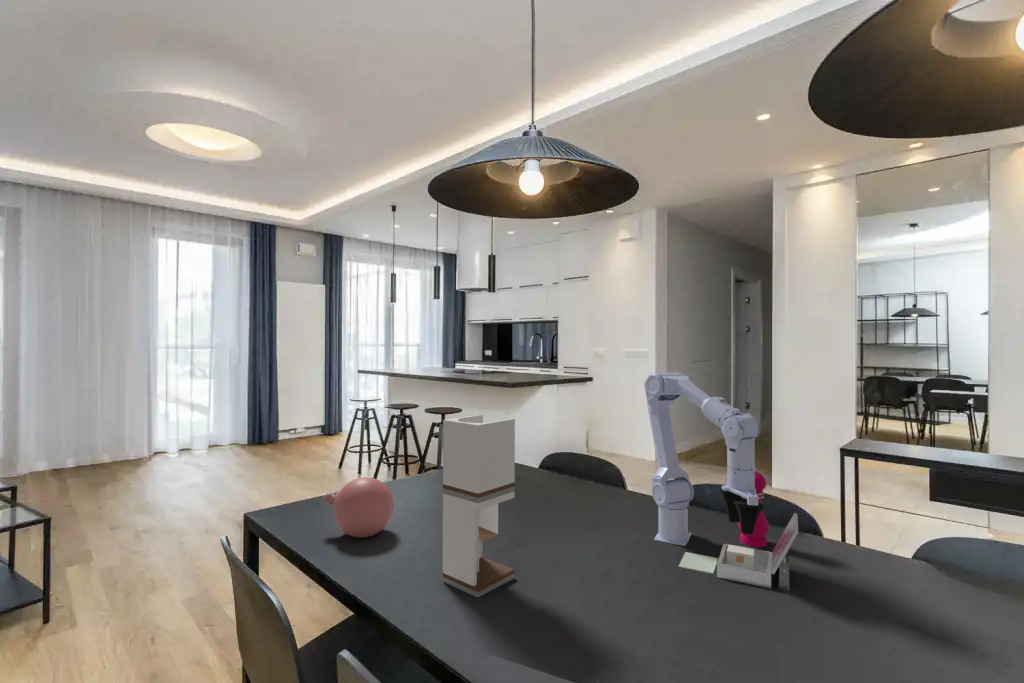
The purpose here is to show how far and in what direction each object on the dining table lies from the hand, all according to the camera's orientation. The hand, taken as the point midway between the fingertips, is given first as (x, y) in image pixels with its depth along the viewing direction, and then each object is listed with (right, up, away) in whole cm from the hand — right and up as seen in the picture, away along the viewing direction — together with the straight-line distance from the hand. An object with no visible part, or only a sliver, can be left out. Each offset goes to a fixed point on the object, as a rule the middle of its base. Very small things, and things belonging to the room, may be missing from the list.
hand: (740, 527), depth 116 cm
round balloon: (-94, -10, +21) cm, 97 cm away
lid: (+7, -2, -4) cm, 9 cm away
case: (+2, -10, -1) cm, 10 cm away
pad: (-8, -10, +4) cm, 13 cm away
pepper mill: (+11, -10, +16) cm, 22 cm away
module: (0, -10, 0) cm, 10 cm away
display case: (-59, -10, -5) cm, 60 cm away
